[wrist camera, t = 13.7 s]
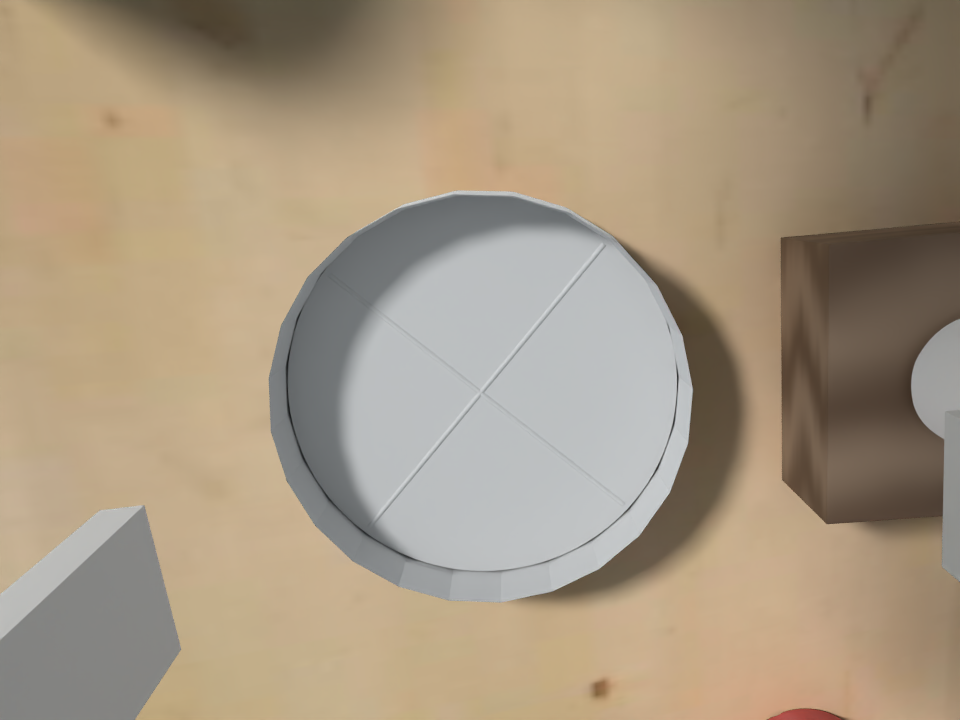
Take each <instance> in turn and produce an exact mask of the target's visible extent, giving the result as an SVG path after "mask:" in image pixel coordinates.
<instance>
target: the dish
mask: <svg viewBox="0 0 960 720" xmlns="http://www.w3.org/2000/svg"><path fill="white" fill-rule="evenodd" d="M324 270H325V271H324ZM692 394H693V387H692V382H691V377H690V372H689V367H688V362H687V357H686V352H685V347H684V342H683V337H682V334H681V332H680V330H679V328H678V326H677V324H676V322H675V320H674V318H673V316H672V314H671V312H670V310H669V308H668V306H667V304H666V302H665V300H664V298H663V296H662V294H661V292H660V290H659V288H658V286H657V285H656V284H655V283H654V282H653V280H652V279H651V278H650V277H649V275H648V274H647V273H646V272H645V271H644V270H643V269H642V268H641V267H640V266H639V264H638V263H637V262H636V261H635V260H634V259H633V258H632V257H631V256H630V255H629V253H628V252H627V251H626V250H625V249H624V248H623V247H622V246H621V245H620V244H619V242H618V241H617V240H616V239H615V238H614V237H613V236H612V235H610V234H608V233H607V232H605V231H603V230H602V229H600V228H599V227H597V226H595V225H594V224H592V223H591V222H589V221H587V220H586V219H584V218H582V217H581V216H579V215H578V214H576V213H574V212H573V211H571V210H570V209H568V208H566V207H563V206H559V205H556V204H553V203H549V202H546V201H543V200H539V199H536V198H532V197H529V196H526V195H522V194H519V193H515V192H503V191H453V192H449V193H446V194H442V195H438V196H434V197H430V198H426V199H423V200H419V201H415V202H411V203H407V204H403V205H402V206H400V207H398V208H396V209H395V210H393V211H391V212H389V213H388V214H386V215H384V216H383V217H381V218H379V219H377V220H376V221H374V222H372V223H370V224H369V225H367V226H365V227H363V228H362V229H360V230H358V231H356V232H355V233H354V234H352V235H350V236H349V237H347V238H346V239H345V240H344V241H343V242H342V243H341V244H340V245H339V246H338V247H337V248H336V249H335V250H334V251H333V252H332V253H331V254H330V255H329V256H328V257H327V258H326V259H325V260H324V261H323V262H322V263H321V264H320V265H319V266H318V267H317V268H316V269H315V270H314V271H313V272H312V273H311V274H310V275H309V276H308V277H307V279H306V281H305V283H304V285H303V286H302V288H301V290H300V292H299V294H298V296H297V297H296V299H295V301H294V303H293V305H292V307H291V308H290V310H289V312H288V314H287V316H286V318H285V319H284V321H283V323H282V325H281V328H280V332H279V337H278V341H277V345H276V350H275V354H274V358H273V362H272V367H271V371H270V375H269V395H270V420H271V433H272V436H273V439H274V442H275V445H276V449H277V452H278V455H279V458H280V461H281V464H282V467H283V470H284V473H285V476H286V480H287V482H288V484H289V485H290V487H291V488H292V490H293V491H294V493H295V495H296V496H297V498H298V499H299V501H300V502H301V504H302V506H303V507H304V509H305V510H306V512H307V513H308V515H309V517H310V518H311V520H312V521H313V523H314V524H315V526H316V527H317V528H318V529H319V530H321V531H322V532H323V533H324V534H325V535H326V536H327V537H328V538H329V539H330V540H331V541H332V542H333V543H334V544H335V545H336V546H337V547H339V548H340V549H341V550H342V551H343V552H344V553H345V554H346V555H347V556H348V557H349V558H350V559H351V560H352V561H354V562H355V563H357V564H359V565H361V566H363V567H364V568H366V569H368V570H370V571H372V572H373V573H375V574H377V575H379V576H381V577H382V578H384V579H386V580H388V581H390V582H391V583H393V584H395V585H397V586H399V587H402V588H406V589H409V590H413V591H417V592H420V593H424V594H427V595H431V596H435V597H438V598H442V599H445V600H450V601H477V602H505V601H510V600H515V599H519V598H524V597H529V596H534V595H538V594H543V593H548V592H552V591H554V590H556V589H559V588H561V587H563V586H565V585H567V584H569V583H571V582H573V581H575V580H577V579H579V578H581V577H584V576H586V575H588V574H590V573H592V572H594V571H596V570H598V569H600V568H601V567H602V566H603V565H605V564H606V563H607V562H608V561H609V560H611V559H612V558H613V557H614V556H615V555H617V554H618V553H619V552H620V551H621V550H623V549H624V548H625V547H626V546H627V545H629V544H630V543H631V542H632V541H634V540H635V539H636V538H637V537H638V536H640V534H641V533H642V531H643V530H644V528H645V527H646V526H647V524H648V523H649V521H650V520H651V519H652V517H653V516H654V514H655V513H656V511H657V510H658V509H659V507H660V506H661V504H662V503H663V502H664V500H665V499H666V497H667V496H668V494H669V493H670V491H671V488H672V485H673V483H674V480H675V477H676V474H677V472H678V469H679V466H680V464H681V461H682V458H683V456H684V453H685V450H686V447H687V445H688V439H689V428H690V417H691V405H692Z"/></svg>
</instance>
